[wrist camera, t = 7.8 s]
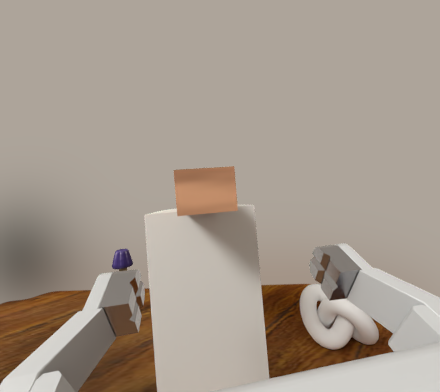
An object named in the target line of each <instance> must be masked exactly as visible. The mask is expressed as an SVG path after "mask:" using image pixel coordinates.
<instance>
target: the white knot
mask: <svg viewBox="0 0 440 392" xmlns="http://www.w3.org/2000/svg"><path fill="white" fill-rule="evenodd" d="M317 301H320V302H321V303H320V305H319V307H318V310H317V308H316V304H317ZM300 312H301V317H302V320H303V323H304V325H305V327H306V329H307V331H308V332H309V334H310V335H311V337H312V338H313V339H314V340H315V341H316V342H317V343H318V344H320V345H321V346H323V347H325V348H327V349H332V350H336V349H340V348H342V347H344V346H345V345H346V344H347V343H348V342H349V340H350V339H351V337H352V338H354V339H355V340H357V341H359V342H361V343H363V344H366V345H372V344H375V343H376V342H377V341H378V339H379V332H378V329H377V326H376V325H375V323H374V321H373V320H372V318H371V317H370V316H369V315H367V314H366V313H365V312H363V311H362V310H361V309H359V308H358V307H356V306H355V305H354V304H352V303H351V302H350V301H348V300H347V298H346V299H339V300H331V301H329V299H328V298H327V296H326V295H325V294H324V292H323V291H322V289H321V285H320V284H312V285H308V286H307V287H306V288H305V289H304V290H303V291H302V294H301V297H300ZM334 321H335V322H334ZM333 323H334V324H333ZM332 325H333V326H332Z"/></svg>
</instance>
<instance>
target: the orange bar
mask: <svg viewBox="0 0 440 392" xmlns="http://www.w3.org/2000/svg"><path fill="white" fill-rule="evenodd" d="M174 179H175V191H176V204H177V216H186V215H197V214H207V213H218V212H229V211H238V206H237V195H236V183H235V172H234V166H233V167H217V168H199V169H183V170H174Z"/></svg>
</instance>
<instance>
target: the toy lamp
mask: <svg viewBox="0 0 440 392" xmlns="http://www.w3.org/2000/svg"><path fill="white" fill-rule="evenodd" d="M132 264H133V262H132V259H131V256H130V253H129V250H128V249H120V250H117V251H116V252H115V255H114V260H113V265H112V267H113V269H119V271H127V267H130V266H131V265H132Z"/></svg>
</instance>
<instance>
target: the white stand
mask: <svg viewBox="0 0 440 392" xmlns="http://www.w3.org/2000/svg"><path fill="white" fill-rule="evenodd" d="M237 206H238V211H229V212H218V213H207V214H197V215H186V216H177V209H167V210H163V211H158V212H154V213H150V214H146V215H144V218H145V232H146V245H147V259H148V273H149V287H150V301H151V314H152V328H153V342H154V355H155V369H156V383H157V392H210V391H215V390H219V389H224V388H229V387H233V386H238V385H243V384H247V383H252V382H256V381H261V380H266V379H269V369H268V358H267V346H266V335H265V324H264V312H263V301H262V290H261V279H260V267H259V257H258V244H257V233H256V221H255V212H254V211H255V210H254V205H237Z"/></svg>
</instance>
